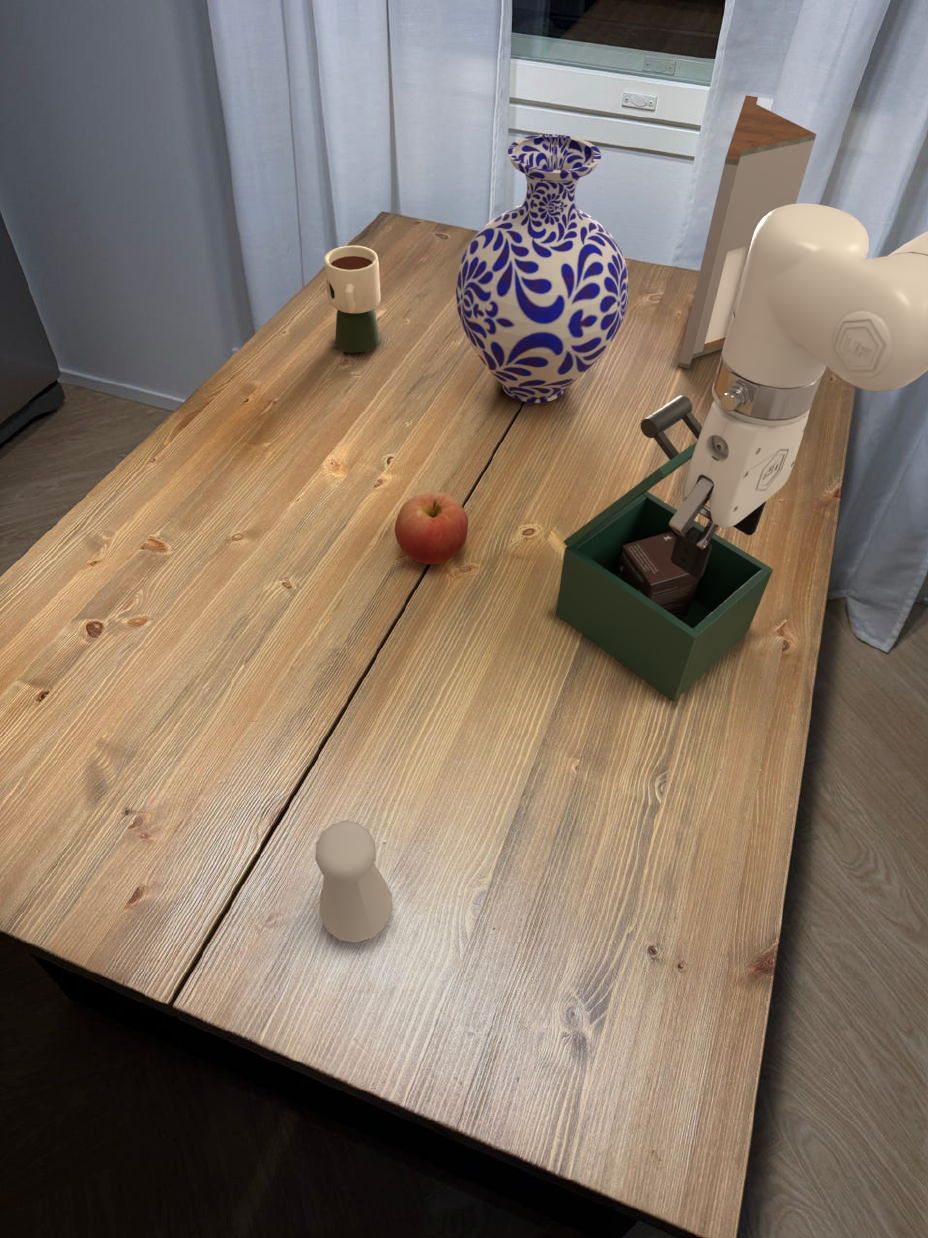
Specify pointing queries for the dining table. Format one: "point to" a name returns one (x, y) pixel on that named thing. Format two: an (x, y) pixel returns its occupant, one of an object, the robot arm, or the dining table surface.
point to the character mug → (354, 296)
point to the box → (657, 573)
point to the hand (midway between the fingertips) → (713, 546)
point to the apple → (431, 527)
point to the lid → (654, 429)
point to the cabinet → (743, 216)
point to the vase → (543, 277)
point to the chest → (637, 623)
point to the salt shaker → (351, 883)
